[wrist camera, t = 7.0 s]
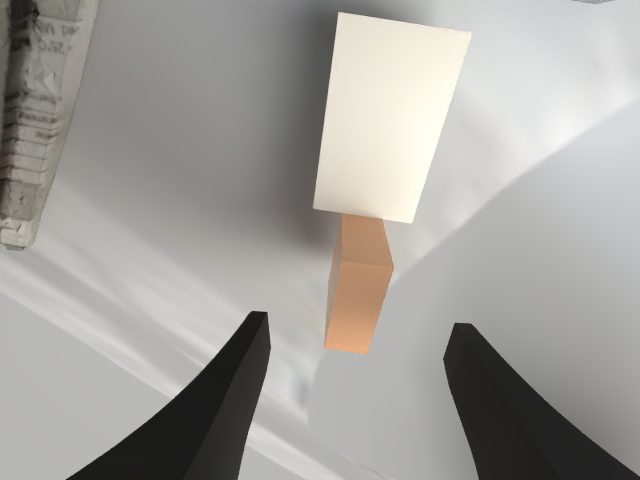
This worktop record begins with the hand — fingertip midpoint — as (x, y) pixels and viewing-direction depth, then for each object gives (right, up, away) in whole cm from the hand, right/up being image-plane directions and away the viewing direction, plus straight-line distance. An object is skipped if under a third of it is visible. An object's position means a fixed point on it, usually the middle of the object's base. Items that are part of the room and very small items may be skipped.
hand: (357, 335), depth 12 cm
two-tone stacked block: (+1, +7, +3) cm, 7 cm away
